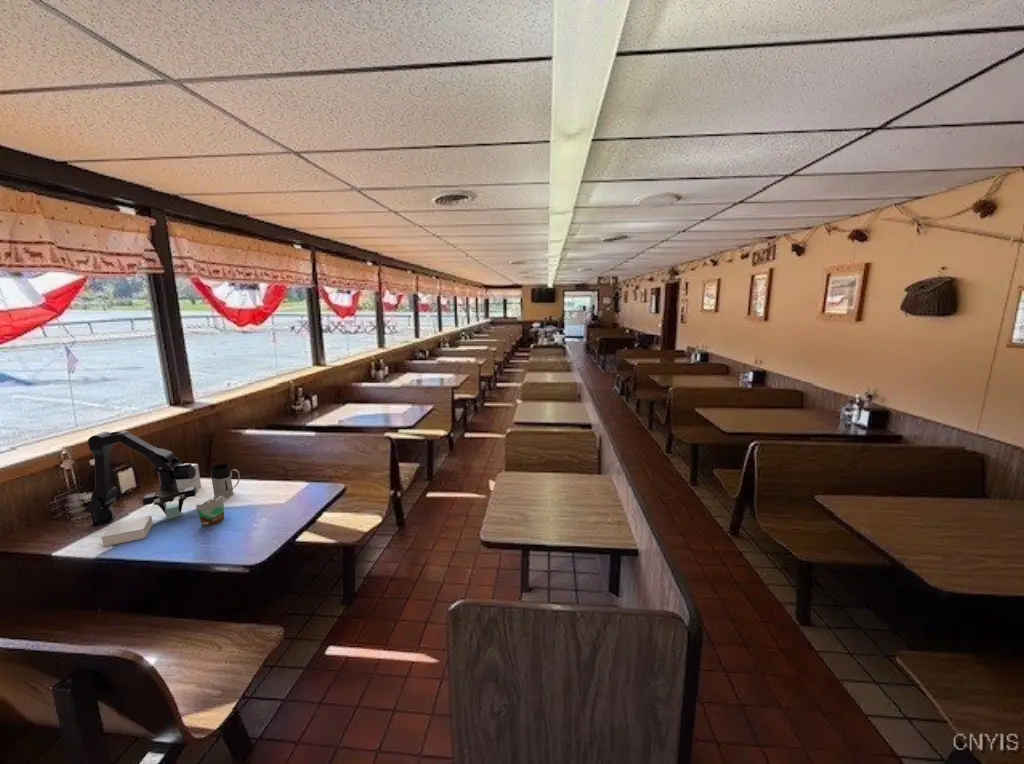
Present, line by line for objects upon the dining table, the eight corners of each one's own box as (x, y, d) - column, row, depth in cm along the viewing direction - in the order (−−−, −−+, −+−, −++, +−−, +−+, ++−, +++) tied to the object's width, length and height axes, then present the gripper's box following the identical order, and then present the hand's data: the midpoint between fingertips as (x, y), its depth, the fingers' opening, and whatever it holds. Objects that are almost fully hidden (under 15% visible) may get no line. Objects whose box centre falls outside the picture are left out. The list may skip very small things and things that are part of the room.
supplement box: (177, 492, 229) (172, 468, 227) (189, 486, 236) (185, 462, 234) (189, 492, 228) (185, 468, 225) (202, 486, 235) (198, 463, 233)
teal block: (166, 518, 200) (164, 509, 199) (168, 514, 204) (167, 505, 203) (179, 516, 202) (177, 506, 201) (181, 512, 206) (179, 502, 205)
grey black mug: (222, 491, 228) (218, 463, 225) (248, 492, 226) (244, 464, 223) (209, 499, 219) (204, 469, 217) (235, 500, 217) (231, 470, 215)
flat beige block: (103, 546, 178) (101, 537, 178) (114, 531, 190) (112, 522, 189) (144, 538, 184) (143, 528, 183) (153, 524, 196) (151, 515, 195)
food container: (211, 528, 190) (207, 506, 189) (198, 527, 192) (195, 505, 190) (234, 515, 202) (231, 493, 200) (222, 514, 204) (219, 493, 202)
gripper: (136, 491, 189) (142, 526, 192) (190, 482, 197) (195, 516, 200) (143, 482, 199) (149, 515, 202) (194, 473, 207) (199, 506, 210)
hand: (173, 513), depth 203 cm, fingers closed on teal block, 5 cm apart
